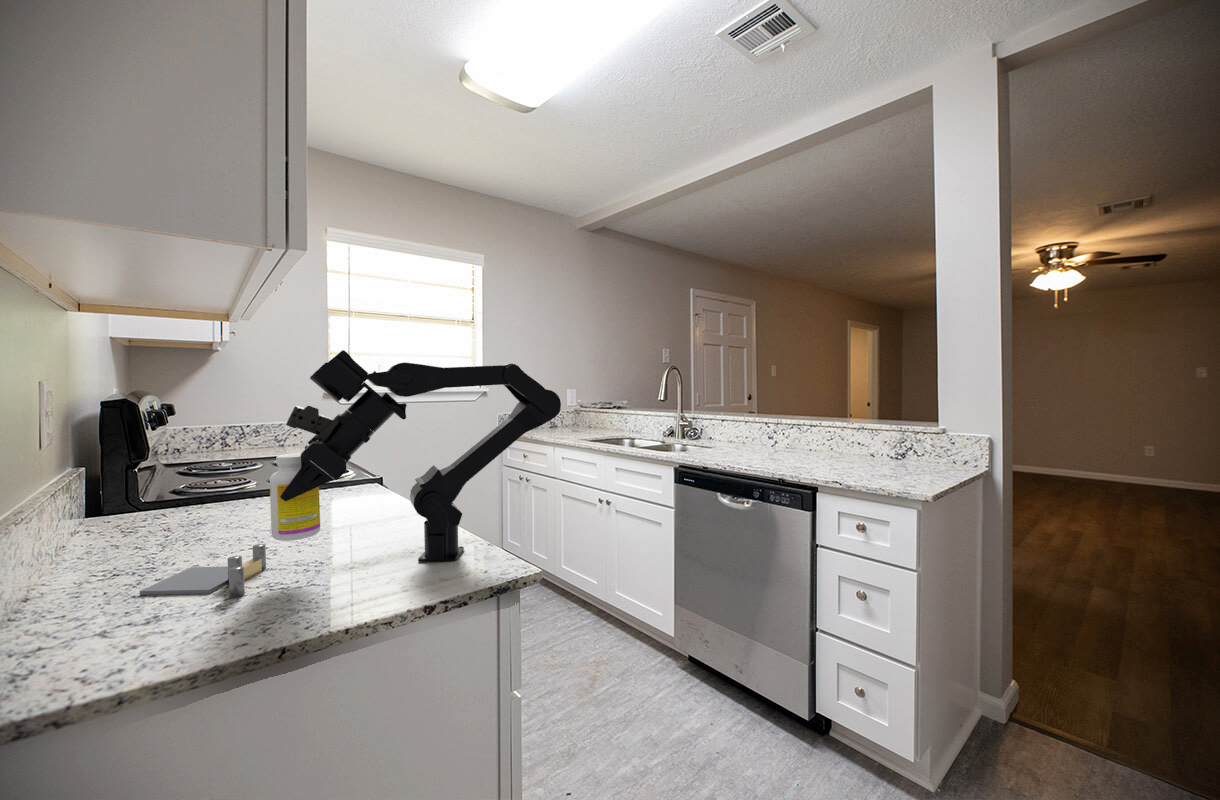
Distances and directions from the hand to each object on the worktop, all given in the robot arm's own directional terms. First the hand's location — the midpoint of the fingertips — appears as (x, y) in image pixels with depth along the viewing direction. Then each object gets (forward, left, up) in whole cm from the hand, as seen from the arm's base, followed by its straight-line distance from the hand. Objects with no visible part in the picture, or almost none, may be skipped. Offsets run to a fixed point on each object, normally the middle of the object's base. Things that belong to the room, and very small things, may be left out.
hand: (284, 494), depth 82 cm
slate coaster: (0, -13, -13) cm, 19 cm away
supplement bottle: (-1, +1, -7) cm, 7 cm away
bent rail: (+1, -5, -13) cm, 14 cm away
